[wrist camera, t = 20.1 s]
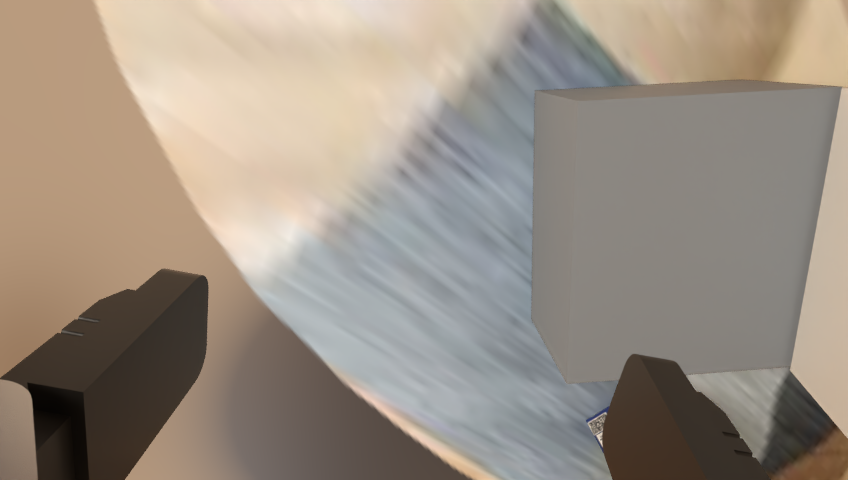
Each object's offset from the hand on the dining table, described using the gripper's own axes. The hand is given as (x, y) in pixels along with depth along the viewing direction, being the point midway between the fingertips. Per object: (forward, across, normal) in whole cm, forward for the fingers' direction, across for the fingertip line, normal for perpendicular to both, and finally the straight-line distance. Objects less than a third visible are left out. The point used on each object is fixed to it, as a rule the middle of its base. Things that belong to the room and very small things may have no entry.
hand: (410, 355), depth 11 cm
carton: (+35, -16, +6) cm, 39 cm away
